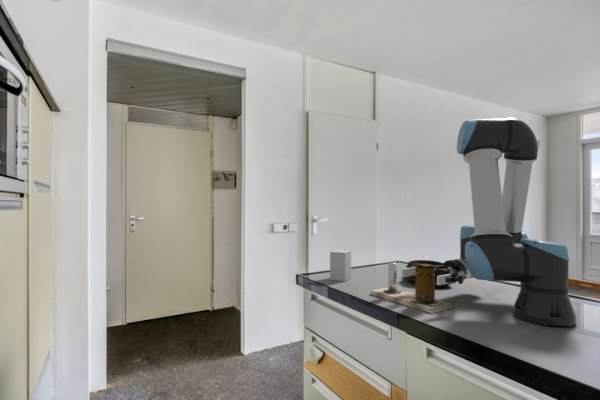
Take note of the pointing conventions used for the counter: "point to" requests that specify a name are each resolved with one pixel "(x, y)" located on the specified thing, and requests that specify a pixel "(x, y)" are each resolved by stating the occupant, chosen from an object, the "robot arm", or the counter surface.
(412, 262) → the casserole
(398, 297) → the board
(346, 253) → the supplement box
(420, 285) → the condiment
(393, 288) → the steel post
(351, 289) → the counter surface
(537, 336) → the counter surface
